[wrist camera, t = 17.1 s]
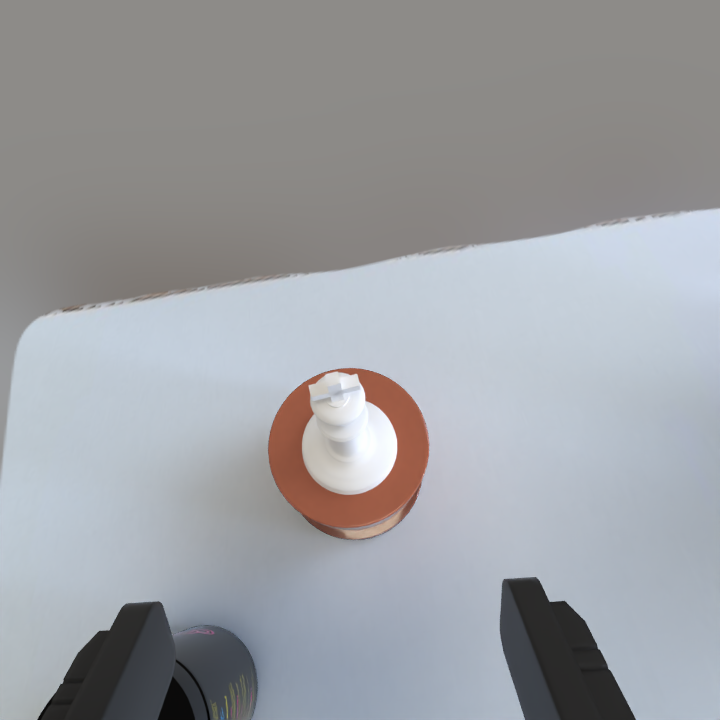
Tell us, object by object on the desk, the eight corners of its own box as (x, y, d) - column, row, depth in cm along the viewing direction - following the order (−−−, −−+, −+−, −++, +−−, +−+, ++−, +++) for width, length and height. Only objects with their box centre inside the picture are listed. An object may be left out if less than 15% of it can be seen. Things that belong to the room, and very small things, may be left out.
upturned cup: (357, 380, 34) (351, 332, 27) (449, 470, 32) (471, 444, 24) (261, 467, 32) (227, 441, 25) (352, 571, 30) (344, 577, 22)
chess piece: (294, 412, 25) (246, 329, 16) (383, 391, 26) (386, 297, 16) (312, 505, 23) (270, 472, 14) (408, 481, 24) (428, 433, 14)
